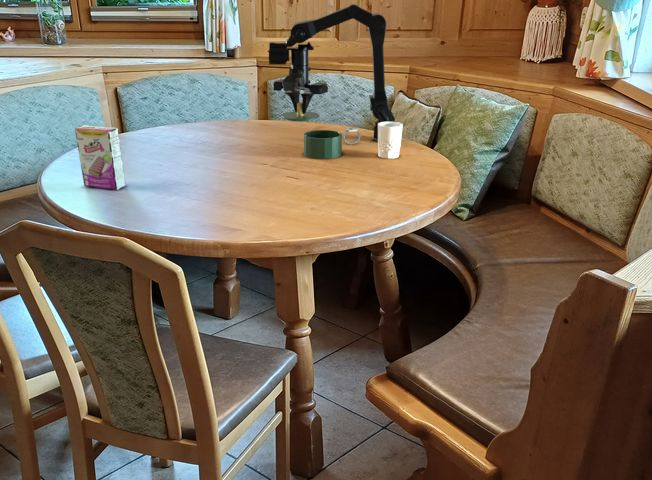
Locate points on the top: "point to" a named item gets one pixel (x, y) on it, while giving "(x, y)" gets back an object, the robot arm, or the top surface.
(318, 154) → the tin
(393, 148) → the white cup
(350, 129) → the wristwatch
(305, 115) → the tin lid
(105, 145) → the candy bar box
